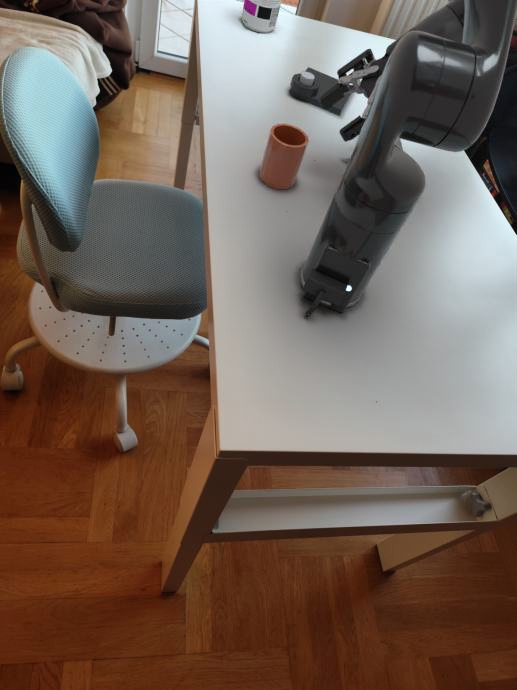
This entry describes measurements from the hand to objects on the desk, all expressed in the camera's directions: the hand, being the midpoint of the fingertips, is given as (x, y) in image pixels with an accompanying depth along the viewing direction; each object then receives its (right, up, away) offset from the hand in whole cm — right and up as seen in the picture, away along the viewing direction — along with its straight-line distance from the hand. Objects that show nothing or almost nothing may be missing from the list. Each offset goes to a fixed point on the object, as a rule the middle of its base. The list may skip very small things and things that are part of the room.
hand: (331, 120), depth 77 cm
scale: (+2, +18, +27) cm, 32 cm away
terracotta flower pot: (-8, -7, +6) cm, 12 cm away
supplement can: (-12, +41, +39) cm, 58 cm away
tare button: (-2, +18, +22) cm, 29 cm away
